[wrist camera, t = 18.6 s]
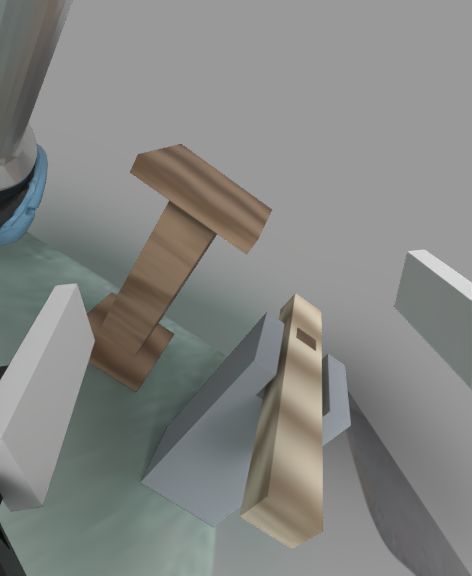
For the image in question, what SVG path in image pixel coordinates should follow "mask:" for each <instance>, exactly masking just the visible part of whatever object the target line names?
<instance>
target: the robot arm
mask: <svg viewBox="0 0 472 576" xmlns="http://www.w3.org/2000/svg"><path fill="white" fill-rule="evenodd" d="M72 2H73V0H0V245H6V244H11V243H13V242H15V241H17V240H18V239H20V238H21V237H22V236H23V235H24V234H25V232H26V231H27V230H28V228H29V226H30V224H31V223H32V221H33V219H34V215H35V209H36V208H38V206H39V204H40V202H41V199H42V196H43V192H44V187H45V183H46V177H47V166H48V165H47V156H46V153H45V151H44V150H43V148H42V147H41V146H39V145H38V144H36V140H35V135H34V133H33V130H32V128H31V126H30V125H29V123H28V122H29V119H30V116H31V114H32V111H33V108H34V106H35V103H36V100H37V97H38V95H39V92H40V89H41V86H42V84H43V81H44V78H45V76H46V73H47V70H48V67H49V65H50V62H51V59H52V56H53V54H54V51H55V48H56V45H57V43H58V40H59V37H60V35H61V32H62V29H63V26H64V24H65V21H66V18H67V15H68V13H69V10H70V7H71V4H72ZM394 307H395V308H396V309H397V310H398V311H399V312H400V314H401V315H402V316H403V317H404V318H405V319H406V320H407V321H408V322H409V323H410V324H411V325H412V326H413V327H414V329H416V331H417V332H418V333H419V334H420V335H421V336H422V337H423V338H424V339H425V340H426V341H427V342H428V344H429V345H430V346H431V347H432V348H433V349H434V350H435V351H436V352H437V353H438V354H439V355H440V356H441V357H442V359H444V361H445V362H446V363H447V364H448V365H449V366H450V367H451V368H452V369H453V370H454V371H455V372H456V374H457V375H458V376H459V377H461V379H462V380H463V381H464V382H465V383H466V384H467V385H468V386H469V387H470V388H471V389H472V283H471V282H470V281H469V280H467V279H466V278H464V277H463V276H461V275H460V274H459V273H457V272H456V271H454V270H453V269H451V268H450V267H449V266H447V265H446V264H444V263H443V262H442V261H440V260H439V259H437V258H436V257H435V256H433V255H432V254H430V253H429V252H427V251H426V250H416V251H408V252H407V255H406V259H405V263H404V267H403V272H402V276H401V280H400V284H399V288H398V293H397V297H396V301H395V305H394ZM94 342H95V339H94V336H93V333H92V330H91V326H90V323H89V320H88V317H87V314H86V310H85V307H84V304H83V301H82V298H81V294H80V291H79V288H78V285H77V283H76V284H66V285H56V286H55V288H54V289H53V291H52V293H51V294H50V296H49V298H48V300H47V301H46V303H45V305H44V306H43V308H42V310H41V312H40V313H39V315H38V317H37V318H36V320H35V322H34V323H33V325H32V327H31V329H30V330H29V332H28V334H27V335H26V337H25V339H24V341H23V342H22V344H21V346H20V347H19V349H18V351H17V353H16V354H15V356H14V358H13V359H12V361H11V363H10V365H9V366H1V367H0V504H1V502H2V500H3V501H4V502H5V504H6V505H7V507H8V508H9V510H10V511H11V512H12V511H19V510H25V509H31V508H38V507H43V504H44V501H45V498H46V495H47V491H48V488H49V485H50V482H51V479H52V476H53V472H54V469H55V466H56V463H57V460H58V456H59V453H60V450H61V447H62V444H63V441H64V437H65V434H66V431H67V428H68V425H69V422H70V418H71V415H72V412H73V409H74V406H75V402H76V399H77V396H78V393H79V390H80V387H81V383H82V380H83V377H84V374H85V371H86V368H87V364H88V361H89V358H90V355H91V352H92V348H93V345H94ZM0 576H26V574H25V572H24V570H23V568H22V566H21V564H20V562H19V560H18V558H17V556H16V554H15V552H14V550H13V548H12V546H11V544H10V542H9V540H8V538H7V536H6V534H5V532H4V530H3V528H2V526H1V524H0Z"/></svg>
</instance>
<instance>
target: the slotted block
mask: <svg viewBox="0 0 472 576" xmlns="http://www.w3.org/2000/svg"><path fill="white" fill-rule="evenodd" d="M283 330H284V323H283V322H281V321H280V320H278V319H277V318H275V317H274V316H272V315H271V314H270V313H268V312H266V314H265V315H264V316H263V317H262V318H261V319H260V321H259V322H258V323H257V324H256V325H255V326H254V327H253V329H252V330H251V331H250V332H249V333H248V334H247V335H246V337H245V338H244V339H243V340H242V341H241V342H240V344H239V345H238V346H237V347H236V348H235V349H234V351H233V352H232V353H231V354H230V355H229V356H228V357H227V359H226V360H225V361H224V362H223V363H222V364H221V365H220V367H219V368H218V369H217V370H216V371H215V372H214V374H213V375H212V376H211V377H210V378H209V379H208V380H207V382H206V383H205V384H204V385H203V386H202V387H201V389H200V390H199V391H198V392H197V393H196V394H195V395H194V397H193V398H192V399H191V400H190V401H189V402H188V404H187V405H186V406H185V407H184V408H183V409H182V410H181V412H180V413H179V414H178V415H177V416H176V417H175V419H174V420H173V421H172V422H171V423H170V424H169V425H168V427H167V428H166V431H165V433H164V435H163V437H162V439H161V441H160V443H159V445H158V447H157V449H156V451H155V453H154V455H153V458H152V460H151V462H150V464H149V466H148V468H147V470H146V472H145V474H144V476H143V478H142V480H141V483H142V484H144V485H146V486H147V487H149V488H151V489H152V490H154V491H155V492H157V493H159V494H160V495H162V496H164V497H165V498H167V499H169V500H170V501H172V502H173V503H175V504H177V505H178V506H180V507H182V508H183V509H185V510H186V511H188V512H190V513H191V514H193V515H195V516H196V517H198V518H200V519H201V520H203V521H204V522H206V523H208V524H209V525H211V526H213V527H214V526H216V525H217V524H218V523H220V522H221V521H222V520H224V519H225V518H226V517H228V516H229V515H230V514H232V513H233V512H234V511H236V510H237V509H238V508H240V507H241V506H242V503H243V497H244V492H245V487H246V482H247V477H248V472H249V467H250V462H251V457H252V452H253V447H254V442H255V437H256V432H257V427H258V422H259V417H260V412H261V407H262V402H263V397H264V391H265V386H266V384H267V383H268V382H269V381H271V380H272V379H273V378H274V377H275V376H276V373H277V367H278V360H279V354H280V348H281V342H282V336H283ZM350 425H351V422H350V412H349V402H348V392H347V383H346V372H345V365H343V364H342V363H341V362H339V361H338V360H336V359H335V358H333V357H332V356H330V355H329V354H327V355H326V356H325V357H324V358H323V359H322V446H323V445H325V444H326V443H327V442H329V441H330V440H331V439H333V438H334V437H336V436H337V435H338V434H340V433H341V432H342V431H344V430H345V429H346V428H348V427H349V426H350Z"/></svg>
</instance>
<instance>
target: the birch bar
mask: <svg viewBox="0 0 472 576" xmlns="http://www.w3.org/2000/svg"><path fill="white" fill-rule="evenodd" d="M279 320H280V321H281V322H283V323H284V330H283V336H282V342H281V348H280V354H279V360H278V367H277V373H276V376H275V377H274V378H273V379H272V380H271V381H269V382H268V383H267V384H266V386H265V391H264V397H263V402H262V407H261V412H260V417H259V422H258V427H257V432H256V437H255V442H254V447H253V452H252V457H251V462H250V467H249V472H248V477H247V482H246V487H245V492H244V497H243V503H242V508H241V513H240V517H241V518H243V519H244V520H246V521H248V522H249V523H251V524H252V525H254V526H256V527H257V528H259V529H260V530H262V531H264V532H265V533H267V534H268V535H270V536H272V537H273V538H275V539H277V540H278V541H280V542H281V543H283V544H285V545H286V546H288V547H289V548H291V549H293V548H295V547H296V546H298V545H300V544H302V543H303V542H305V541H307V540H309V539H311V538H312V537H314V536H316V535H318V534H319V533H321V532H323V467H322V466H323V465H322V463H323V461H322V460H323V459H322V338H321V337H322V332H321V331H322V328H321V327H322V325H321V323H322V322H321V321H322V320H321V311H320V310H319V309H317V308H316V307H314V306H313V305H311V304H310V303H309V302H307V301H306V300H304V299H303V298H301V297H300V296H299V295H297V294H296V293H295V294H294V295H293V296H292V298H291V299H290V300H289V301H288V302H287V303H286V304H285V305H284V306H283V308H282V309H281V311H280V316H279Z"/></svg>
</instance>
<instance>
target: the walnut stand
mask: <svg viewBox="0 0 472 576" xmlns="http://www.w3.org/2000/svg"><path fill="white" fill-rule="evenodd" d="M130 173H132V174H133V175H134V176H136V177H137V178H139V179H140V180H142V181H143V182H144V183H146V184H147V185H149V186H150V187H151V188H153V189H154V190H156V191H157V192H158V193H160V194H161V195H163V196H164V197H166V198H167V199H168V200H169V202H168V205H167V206H166V208H165V210H164V211H163V213H162V215H161V217H160V219H159V221H158V223H157V224H156V226H155V228H154V230H153V232H152V234H151V235H150V237H149V239H148V241H147V243H146V245H145V246H144V248H143V250H142V252H141V254H140V256H139V257H138V259H137V261H136V263H135V265H134V267H133V269H132V270H131V272H130V274H129V276H128V278H127V279H126V282H125V283H124V285H123V287H122V289H121V290H120V292H119V294H118V296H116V295H115V294H113V293H111V294H109V295H108V296H107V297H106V298H105V299H104V300H103V301H101V302H100V303H99V304H98V305H97V306H96V307H95V308H93V309H92V310H91V311H90V312H89V313H88V314H87V317H88V320H89V323H90V326H91V330H92V333H93V336H94V339H95V342H94V345H93V348H92V352H91V355H90V358H89V361H88V362H90V363H91V364H93V365H94V366H96V367H97V368H99V369H101V370H102V371H104V372H105V373H107V374H108V375H110V376H112V377H113V378H115V379H116V380H118V381H119V382H121V383H123V384H124V385H126V386H127V387H129V388H130V389H132V390H133V391H135V392H136V391H137V390H138V389H139V387H140V386H141V384H142V383H143V381H144V380H145V378H146V377H147V375H148V374H149V372H150V371H151V369H152V368H153V366H154V364H155V363H156V361H157V360H158V358H159V357H160V355H161V354H162V352H163V351H164V349H165V348H166V346H167V344H168V343H169V341H170V340H171V338H172V337H173V335H174V334H173V333H172V332H170V331H169V330H167V329H166V328H164V327H163V326H161V325H160V324H158V323H159V321H160V320H161V318H162V317H163V315H164V314H165V312H166V311H167V309H168V308H169V306H170V305H171V303H172V302H173V300H174V299H175V297H176V296H177V294H178V293H179V291H180V289H181V288H182V287H183V285H184V284H185V282H186V281H187V279H188V277H189V276H190V274H191V273H192V271H193V270H194V268H195V267H196V265H197V264H198V262H199V261H200V259H201V258H202V256H203V255H204V253H205V252H206V250H207V249H208V247H209V246H210V244H211V243H212V241H213V240H214V238H215V237H216V235H217V234H218V235H220V236H221V237H222V238H224V239H225V240H227V241H228V242H229V243H231V244H232V245H234V246H235V247H237V248H238V249H240V250H241V251H242V252H244V253H246V254H247V253H248V252H249V251H250V250H251V248H252V247H253V245H254V244H255V243H256V241H257V240H258V238H259V236H260V234H261V232H262V230H263V228H264V226H265V223H266V221H267V219H268V217H269V215H270V213H271V211H272V209H270V208H269V207H268V206H266V205H265V204H263V203H262V202H261V201H259V200H258V199H257V198H255V197H254V196H252V195H251V194H250V193H248V192H247V191H246V190H244V189H243V188H241V187H240V186H239V185H237V184H236V183H234V182H233V181H232V180H230V179H229V178H228V177H226V176H225V175H223V174H222V173H220V172H219V171H218V170H217V169H215V168H214V167H212V166H211V165H209V164H208V163H207V162H205V161H204V160H203V159H201V158H200V157H198V156H197V155H196V154H194V153H193V152H192V151H190V150H189V149H187V148H186V147H185V146H183V145H182V144H179V145H175V146H171V147H167V148H163V149H158V150H154V151H150V152H146V153H142V154H138V156H137V158H136V160H135V162H134V164H133V166H132V169H131V171H130Z"/></svg>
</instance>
